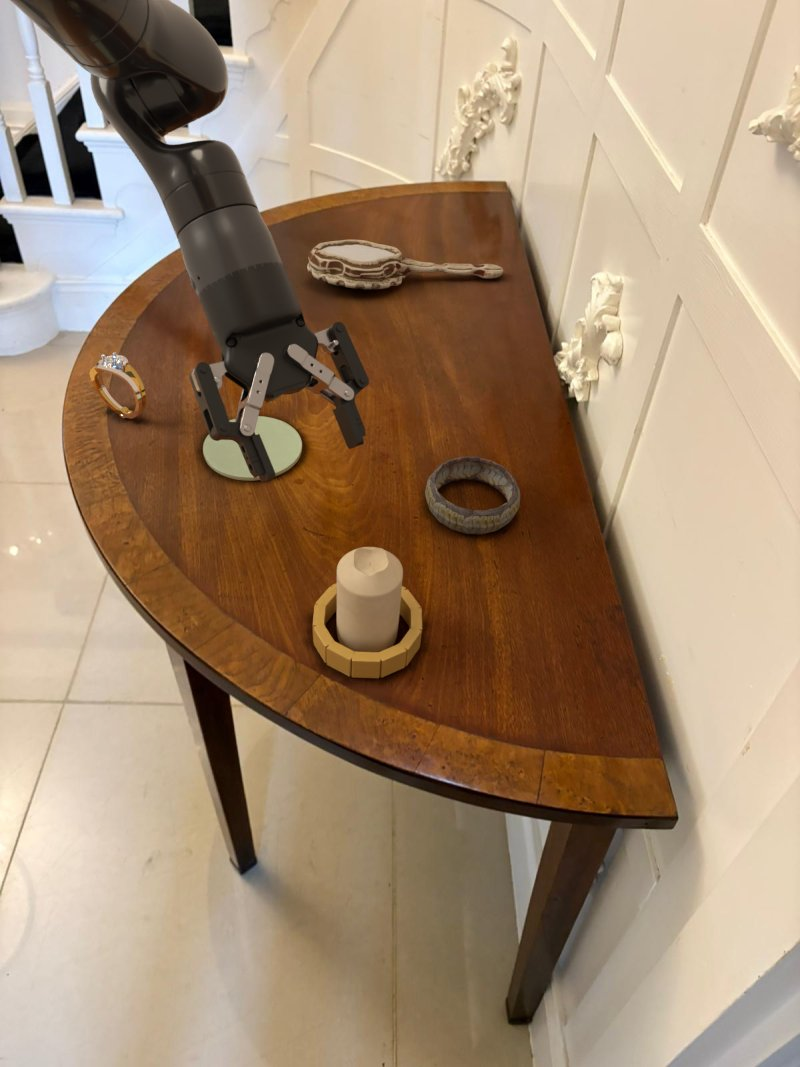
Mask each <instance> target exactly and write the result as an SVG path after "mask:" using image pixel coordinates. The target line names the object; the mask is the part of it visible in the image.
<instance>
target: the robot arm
mask: <svg viewBox="0 0 800 1067" xmlns="http://www.w3.org/2000/svg"><path fill="white" fill-rule="evenodd" d="M9 1H10V2H11V3H13V5H15V6H16V7H17V8H18V10H20V11H21V12H22V13H23V14H24V15H25V16H27V18H29V19H30V21H32V22H33V23H34V24H35V25H36V26H37V27H38V28H39V30H41V31H42V32H43V33H45V34H46V35H47V36H48V37H49V38H50V39H51V40H52V41H53V42H54V43H55V44H56V45H57V46H58V47H60V49H62V51H63V52H64V53H66V54H67V55H68V56H69V57H70V58H71V59H72V60H73V61H74V62H75V63H77V64H78V66H80V68H82V69H84V70H85V71H86V72H87V73H89V74H90V87H91V92H92V94H93V98H94V100H95V103H96V105H97V106H98V108H99V110H100V111H101V113H102V114H103V116H104V117H105V118H106V120H107V121H108V122H109V123H110V125H111V126H112V127H113V129H114V130H115V132H117V134H118V135H119V136H120V138H121V139H122V140H123V141H124V142H125V144H126V146H128V148H129V149H130V151H131V152H132V153H133V155H134V156H135V158H136V159H137V161H138V162H139V163H140V165H141V166H142V168H143V169H144V171H145V173H146V174H147V176H148V177H149V179H150V181H151V183H152V184H153V186H154V188H155V190H156V191H157V194H158V195H159V198H160V200H161V202H162V205H163V206H164V210H165V213H166V214H167V218H168V220H169V222H170V225H171V227H172V229H173V232H174V234H175V237H176V239H177V242H178V244H179V248H180V252H181V255H182V259H183V263H184V266H185V269H186V272H187V274H188V276H189V281H190V285H191V288H192V289H193V291H194V292H195V294H196V296H197V299H198V301H199V304H200V306H201V308H202V310H203V313H204V315H205V318H206V321H207V322H208V325H209V327H210V330H211V333H212V335H213V338H214V340H215V342H216V344H217V347H218V349H219V351H220V354H221V361H218V362H214V363H210V364H209V363H207V362H205V361H200V362H198V363H197V364H196V365H195V367H194V368H193V369H192V370H191V371H190V372H189V375H188V376H189V381H190V384H191V386H192V390H193V392H194V396H195V398H196V401H197V404H198V406H199V409H200V412H201V416H202V418H203V420H204V424H205V427H206V430H207V432H208V434H209V435H210V437H211V438H212V439H213V440H215V441H219V440H233V441H235V442H236V443H237V444H238V445H239V447H240V450H241V452H242V455H243V457H244V459H245V461H246V464H247V466H248V469H249V471H250V473H251V474H252V475H253V477H254V478H255V477H258V476H259V478H260V480H259V481H261V483H265V482H268V481H270V480H273V479H275V478H276V477H277V476H276V474H275V471H274V468H273V466H272V464H271V461H270V459H269V456H268V454H267V451H266V449H265V446H264V444H263V442H262V439H261V437H260V434H257V435H255V432H254V431H255V427H256V423H257V419H258V416H260V412H261V410H262V408H263V405H264V402H266V403H270V402H272V401H276V400H277V399H278V398H280V397H281V396H283V395H285V396H286V395H293V394H297V393H299V392H301V391H302V390H304V389H306V390H307V391H308V392H310V393H312V394H314V395H318V396H320V397H321V398H323V399H324V400H326V401H327V402H328V403H330V404H331V405H333V406H334V407H335V408H334V409H332V412H333V415H334V417H335V420H336V422H337V425H338V427H339V430H340V433H341V435H342V438H343V440H344V443H345V445H346V447H347V449H349V450H352V449H355V448H357V447H359V446H362V445H364V443H365V439H364V437H366V428H365V425H364V423H363V420H362V417H361V414H360V412H359V409H358V407H357V405H356V402H355V401H356V400H355V399H356V396H357V395H358V394H359V393H360V392H362V390H363V389H365V388H366V387H368V386H369V383H370V379H369V376H368V374H367V372H366V370H365V368H364V365H363V363H362V360H361V359H360V357H359V355H358V352H357V350H356V348H355V345H354V342H353V341H352V338H351V336H350V335H349V332H348V330H347V328H346V326H345V324H344V323H342V322H341V321H335V322H334V323H333V324H331V325H330V326H329V327H327V328H325V329H322V330H319V331H317V332H313V331H312V330H311V329H310V328H309V327H308V325H307V324H306V322H305V317H304V313H303V310H302V308H301V307H302V306H301V305H300V302H299V300H298V298H297V295H296V293H295V290H294V287H293V285H292V282H291V280H290V278H289V275H288V273H287V270H286V268H285V265H284V263H283V260H282V258H281V257H282V256H281V255H280V253H279V250H278V247H277V245H276V242H275V240H274V237H273V235H272V233H271V231H270V228H269V227H268V225H267V224H266V222H265V220H264V218H263V216H262V214H261V212H260V210H259V208H258V205H257V203H256V200H255V198H254V195H253V192H252V190H251V188H250V185H249V183H248V180H247V178H246V175H245V172H244V169H243V167H242V164H241V163H240V160H239V158H238V156H237V154H236V153H235V151H234V150H233V149H232V147H231V146H230V145H229V144H227V143H226V142H223V141H222V140H221V141H220V140H216V139H202V140H195V141H189V142H183V143H178V144H170V143H169V144H168V143H167V140H166V138H165V136H167V135H169V134H170V133H173V132H175V131H176V130H178V129H181V128H183V127H185V126H187V125H189V124H191V123H193V122H196V121H197V120H199V119H201V118H203V117H205V116H207V115H209V114H211V113H213V112H214V111H216V110H217V109H218V108H219V107H220V106H221V105H222V104H223V102H224V101H225V99H226V96H227V93H228V89H229V72H228V67H227V63H226V60H225V57H224V55H223V53H222V51H221V48H220V47H219V45H218V43H217V42H216V40H215V39H214V37H213V36H212V35H211V33H210V32H209V31H208V29H207V28H205V26H204V25H202V23H201V22H200V21H199V20H198V19H197V18H195V17H194V16H193V15H192V14H190V13H189V12H188V11H187V10H186V9H184V8H182V7H181V6H179V5H177V4H176V3H174V2H172V1H171V0H9ZM319 348H321V349H322V350H323V352H324V353H325V354H326V355H328V356H330V357H331V359H332V362H333V364H334V366H335V368H336V370H337V373H338V375H339V377H340V378H338V377H336V374H335V372H334V371H332V370H331V369H329V368H328V367H327V366H326V365H324V364H322V362H320V361H319V360H317V354H318V350H319ZM223 376H225V377H226V378H227V379H228V380H230V381H231V382H232V383H234V384H236V385H237V386H238V387H239V388H241V392H240V395H239V401H238V404H237V407H236V417H235V419H236V420H235V422H229V420H230V419H229V416H228V413H227V411H226V407H225V404H224V401H223V399H222V396H221V394H220V391H219V390H220V389H221V388H222V387H223V384H224V383H223V382H224V381H223Z"/></svg>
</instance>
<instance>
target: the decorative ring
mask: <svg viewBox="0 0 800 1067" xmlns="http://www.w3.org/2000/svg"><path fill="white" fill-rule="evenodd" d="M459 481H472V482H473V481H475V482H478V483H482V484H486V485H488V486H490V487H492V488H494V489H496V490H497V491H498V492H499V493H501V495H502V496H503V497H504V498H505V500H506V501H507V502H505V503H503V504H502V505H500V506H498V507H495V508H490V509H486V510H485V509H484V510H481V509H480V510H479V509H469V508H465V507H461V506H458V505H456V504H454V503H452V502H451V501H448V500H447V499H445V498H444V496H443V495H442V494H441V493H440V491H439V489H440V488H442V487H444V486H446V485H448V484H450V483H453V482H459ZM424 496H425V500H426V503H427V507H428V510H429V512H430V513H431V514H432V516H433V517H434V518H435V519H436V520H437V521H438V523H440V524H442V525H443V526H445V527H446V528H449V530H452V531H455V532H458V533H462V534H465V535H485V534H490V533H495V532H498V531H499V530H500V529H502V528H503V527H505V526H507V525H508V524H510V523H511V521H512V520H513V519H514V517H515V515H516V514H517V513H518V511H519V509H520V504H521V490H520V487H519V486H518V483H517V480H516V478H515V477H514V475H513V474H512V473H511V472H510V471H509V470H508V469H507V468H506V467H505V466H503V465H501V464H499V463H497V462H495V461H494V460H490V459H487V458H483V457H479V456H460V457H455V458H450V459H448V460H446V461H445V462H443V463H441V464H439V465H438V466H437V467H436V468H435V470H434V471H433V472H432V473H431V474H430V476H429V477H428V479H427V482H426V485H425V490H424Z"/></svg>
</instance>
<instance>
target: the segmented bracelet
mask: <svg viewBox="0 0 800 1067" xmlns="http://www.w3.org/2000/svg"><path fill="white" fill-rule="evenodd" d="M335 613H337V582H335V583H333V584H332V585H331V586H329V587H328V588H326V590H325V591H324V592H323V594H322V595H321V596H320V597H319V598H318V599H317V600H316V602H315V603H314V605H313V616H312V643H313V646H314V647H315V649H316V651H317V652H318V654H319V655H320V657H321V659H322V660H323V662H324V664H326V666H328V667H330V668H332V669H333V670H336V671H337V672H340V673H341V674H343V675H345V676H347V677H349V678H350V677H351V678H355V679H356V678H357V679H358V678H359V679H379V678H384V677H386V676H389V675H391V674H393V673H395V672H398V671H401V670H403V669H405V668H406V667H407V666H408V665H409V664H410V662H411V661H412V659H413V658H414V657H415V655H416V654H417V652H418V651H419V649H420V647H421V644H422V634H423V609H422V606H421V605H420V604H419V602H418V601H417V599H416V598H415V597H414V595H413V594H412V592H410V590H409V589H408V588H407V587H406V586H403V585H402V590H401V601H400V613H399V615H400V616H401V617H402V619H403V620H404V622H405V623H406V624H407V626H408V631H407V632H406V634H405V635H404V636H403V638H402V639H401V640H400V641H399V643H397V644H394V645H393V646H392V647H390V648H388V649H385V650H383V651H381V652H355V651H353V650H351V649H349V648H347V647H345V646H343V645H341V644H340V642H337V641H335V639H334V638H333V636H332V635H331V634H330V632H329V629H327V626H326V625H327V622H329V620H330V619H331V618H332V617H333V616H334V614H335Z"/></svg>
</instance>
